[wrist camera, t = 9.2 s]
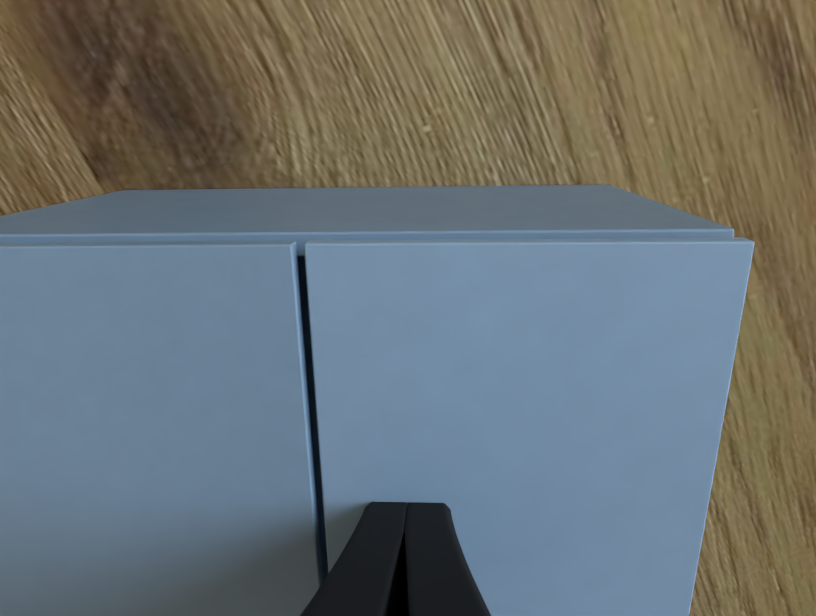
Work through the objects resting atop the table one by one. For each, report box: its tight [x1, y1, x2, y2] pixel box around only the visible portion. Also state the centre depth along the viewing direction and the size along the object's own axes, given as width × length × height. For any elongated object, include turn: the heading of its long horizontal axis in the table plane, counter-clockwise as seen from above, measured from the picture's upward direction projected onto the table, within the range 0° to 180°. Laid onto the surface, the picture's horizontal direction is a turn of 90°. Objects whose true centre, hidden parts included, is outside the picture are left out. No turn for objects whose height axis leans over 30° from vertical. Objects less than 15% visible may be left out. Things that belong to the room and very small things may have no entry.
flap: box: [304, 238, 754, 616], centre depth 10 cm, size 6×11×1 cm, turn 1°
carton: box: [0, 185, 734, 616], centre depth 13 cm, size 13×11×7 cm
